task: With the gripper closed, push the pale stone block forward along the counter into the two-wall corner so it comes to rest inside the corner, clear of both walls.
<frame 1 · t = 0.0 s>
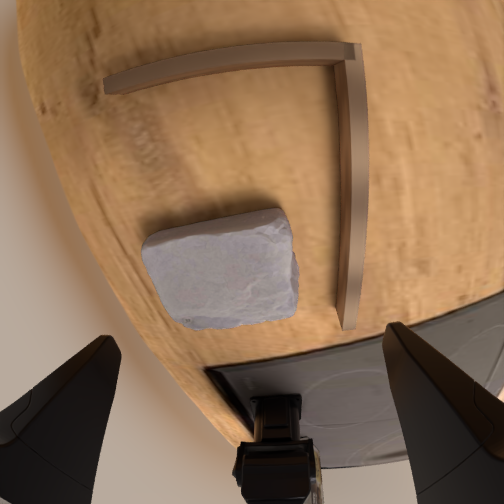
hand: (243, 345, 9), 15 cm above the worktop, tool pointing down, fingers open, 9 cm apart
corner walls: (348, 194, 21), on the worktop
coffee box: (297, 447, 42), on the worktop
stone block: (228, 267, 25), on the worktop
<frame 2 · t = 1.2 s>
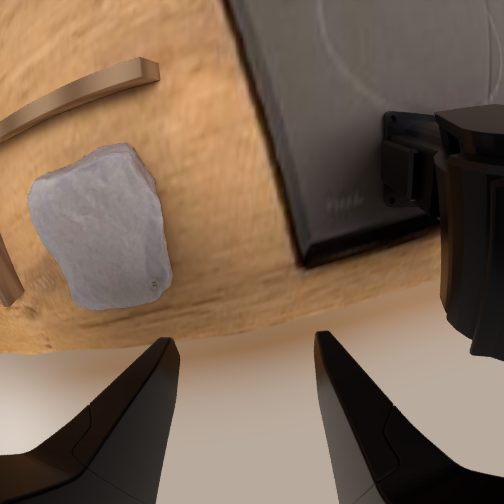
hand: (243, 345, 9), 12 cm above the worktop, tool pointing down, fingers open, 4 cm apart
corner walls: (36, 117, 16), on the worktop
stone block: (117, 222, 20), on the worktop
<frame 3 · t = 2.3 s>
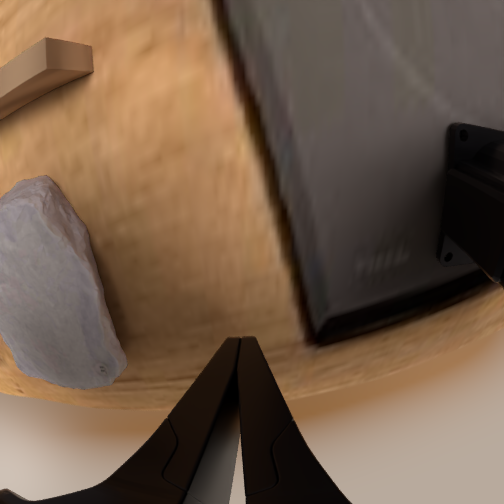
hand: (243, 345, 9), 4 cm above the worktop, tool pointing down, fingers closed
stone block: (55, 278, 14), on the worktop
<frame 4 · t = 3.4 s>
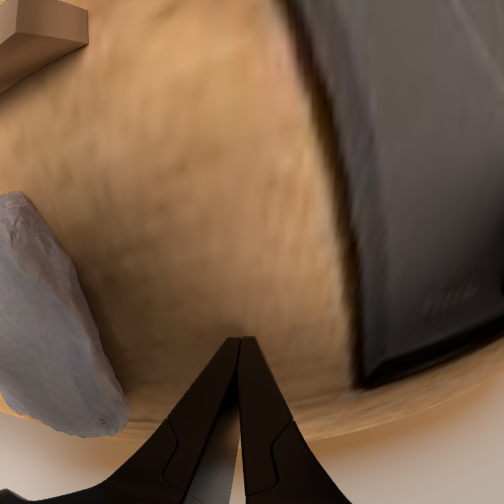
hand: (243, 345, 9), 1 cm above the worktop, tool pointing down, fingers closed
stone block: (41, 312, 11), on the worktop
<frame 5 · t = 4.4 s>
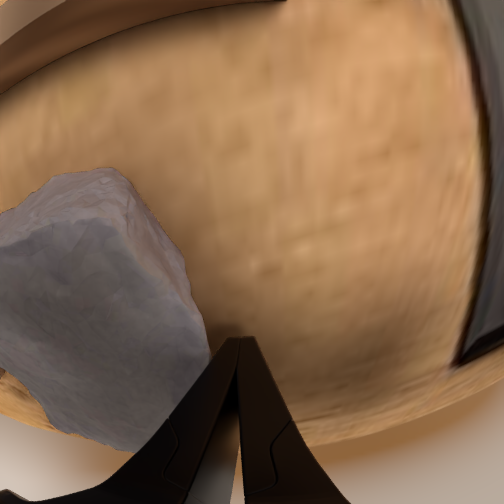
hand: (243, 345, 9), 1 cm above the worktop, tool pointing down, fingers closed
stone block: (108, 317, 11), on the worktop, touching gripper
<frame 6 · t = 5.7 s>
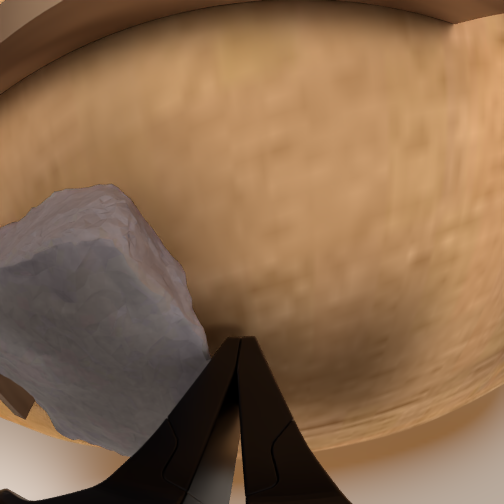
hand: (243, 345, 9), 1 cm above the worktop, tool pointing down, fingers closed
corner walls: (66, 36, 5), on the worktop
stone block: (111, 327, 11), on the worktop
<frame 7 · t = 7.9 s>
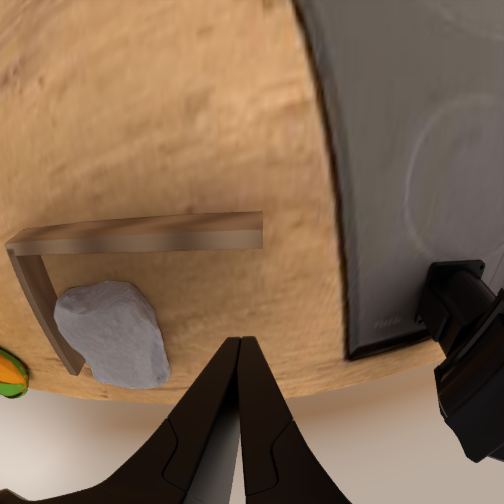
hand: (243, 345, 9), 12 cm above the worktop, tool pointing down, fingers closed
corner walls: (115, 227, 20), on the worktop
corn: (0, 353, 33), on the worktop
stone block: (126, 327, 26), on the worktop
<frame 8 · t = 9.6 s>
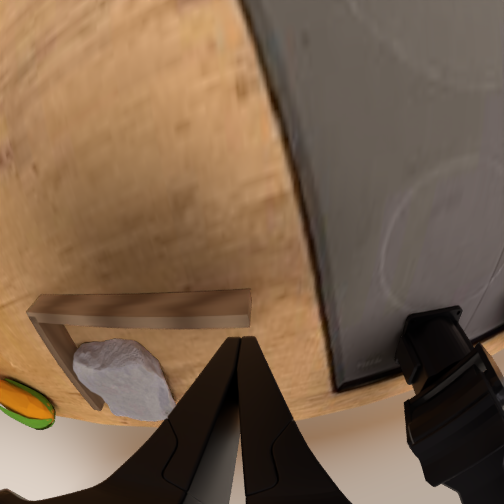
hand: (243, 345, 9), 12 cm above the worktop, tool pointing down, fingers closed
corner walls: (124, 299, 23), on the worktop
corn: (24, 387, 37), on the worktop
stone block: (135, 372, 29), on the worktop
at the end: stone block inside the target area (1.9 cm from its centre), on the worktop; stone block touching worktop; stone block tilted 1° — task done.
